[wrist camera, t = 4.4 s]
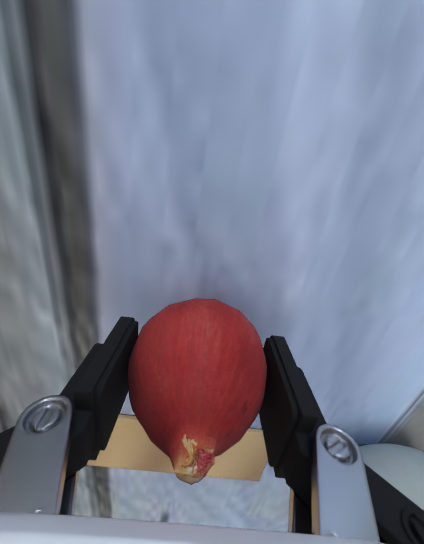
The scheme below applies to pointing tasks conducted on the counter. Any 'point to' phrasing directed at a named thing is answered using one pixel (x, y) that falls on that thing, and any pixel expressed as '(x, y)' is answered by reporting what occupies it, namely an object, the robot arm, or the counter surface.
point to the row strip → (146, 456)
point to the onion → (196, 382)
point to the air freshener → (398, 468)
